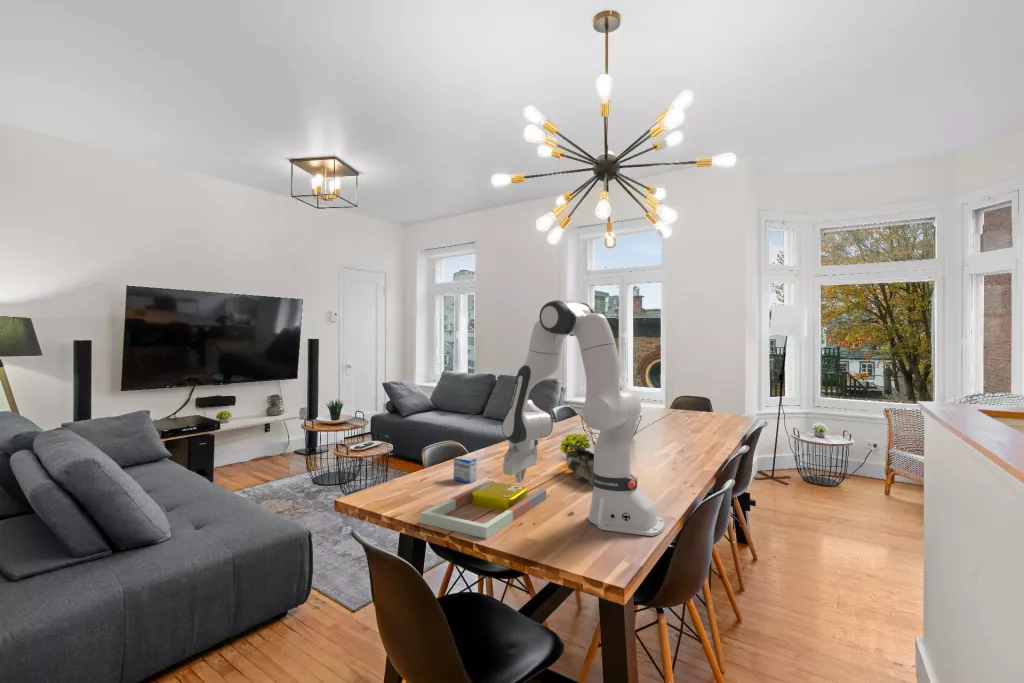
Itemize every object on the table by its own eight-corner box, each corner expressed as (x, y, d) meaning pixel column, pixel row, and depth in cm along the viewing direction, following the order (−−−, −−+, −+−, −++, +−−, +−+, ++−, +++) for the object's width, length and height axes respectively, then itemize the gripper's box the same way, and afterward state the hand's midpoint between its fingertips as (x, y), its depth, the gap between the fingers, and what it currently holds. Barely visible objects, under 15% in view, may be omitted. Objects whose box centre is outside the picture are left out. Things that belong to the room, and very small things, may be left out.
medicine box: (453, 480, 187) (453, 458, 187) (459, 477, 191) (459, 455, 191) (470, 483, 183) (470, 460, 183) (476, 480, 187) (476, 458, 187)
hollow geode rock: (571, 481, 204) (548, 456, 202) (590, 458, 208) (568, 434, 205) (603, 499, 178) (577, 472, 175) (625, 473, 181) (600, 446, 178)
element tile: (490, 493, 173) (490, 480, 173) (529, 499, 166) (529, 485, 166) (469, 506, 159) (469, 491, 159) (510, 513, 153) (510, 498, 153)
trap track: (546, 498, 166) (546, 490, 166) (486, 538, 132) (486, 527, 132) (489, 488, 177) (489, 480, 177) (420, 522, 143) (420, 512, 143)
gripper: (515, 450, 164) (514, 490, 164) (540, 439, 182) (539, 476, 182) (499, 447, 167) (498, 487, 167) (525, 437, 185) (524, 473, 185)
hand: (520, 481), depth 175 cm, fingers closed
